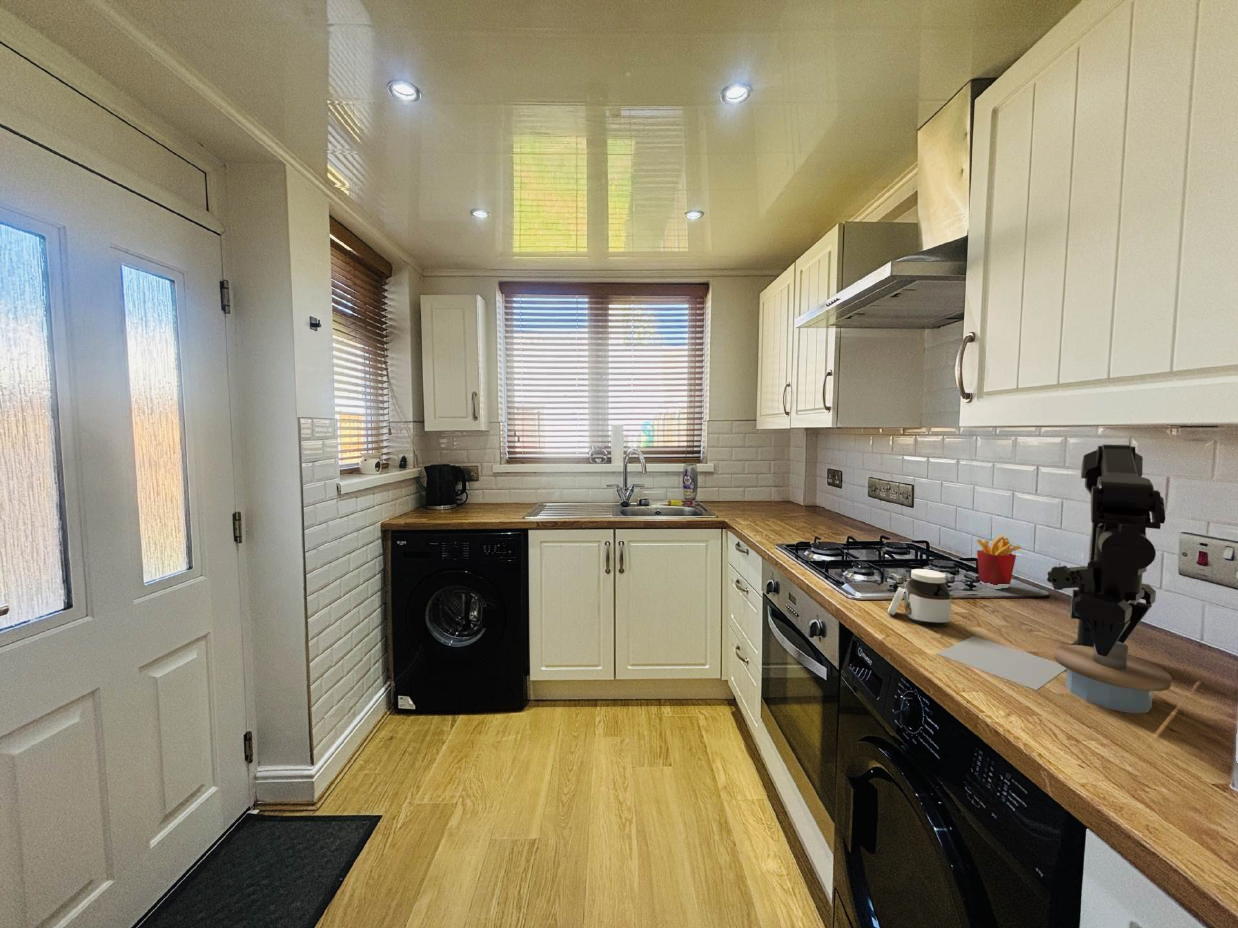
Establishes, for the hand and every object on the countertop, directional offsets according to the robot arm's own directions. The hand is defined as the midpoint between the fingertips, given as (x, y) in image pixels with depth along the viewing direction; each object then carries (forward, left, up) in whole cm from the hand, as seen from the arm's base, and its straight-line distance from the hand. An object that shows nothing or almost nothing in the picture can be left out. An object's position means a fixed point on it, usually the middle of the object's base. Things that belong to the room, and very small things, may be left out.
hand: (1110, 648), depth 83 cm
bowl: (0, 0, -8) cm, 8 cm away
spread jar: (-8, -35, -9) cm, 37 cm away
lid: (0, 0, -4) cm, 4 cm away
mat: (0, -15, -8) cm, 17 cm away
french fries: (-54, -35, -9) cm, 65 cm away
